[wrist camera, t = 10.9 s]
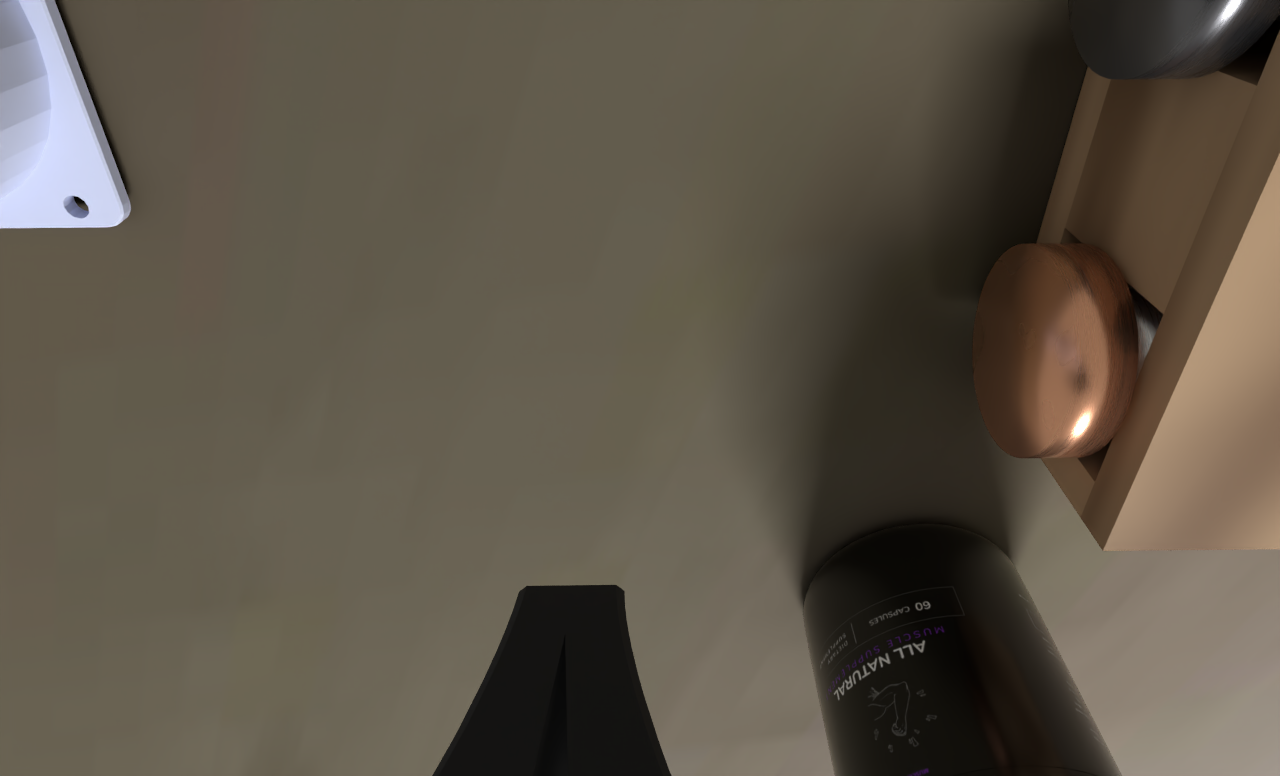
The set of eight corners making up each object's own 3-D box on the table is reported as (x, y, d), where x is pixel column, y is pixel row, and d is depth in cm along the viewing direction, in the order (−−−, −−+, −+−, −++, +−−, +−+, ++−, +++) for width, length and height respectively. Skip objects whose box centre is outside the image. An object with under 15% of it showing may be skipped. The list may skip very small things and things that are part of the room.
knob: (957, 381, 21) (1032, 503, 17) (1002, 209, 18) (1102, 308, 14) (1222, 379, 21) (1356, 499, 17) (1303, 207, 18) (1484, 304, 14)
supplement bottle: (826, 505, 24) (965, 974, 14) (1045, 523, 24) (1331, 989, 14) (777, 653, 28) (859, 1105, 18) (968, 666, 28) (1151, 1113, 18)
